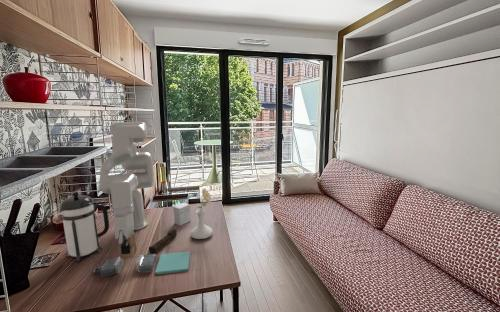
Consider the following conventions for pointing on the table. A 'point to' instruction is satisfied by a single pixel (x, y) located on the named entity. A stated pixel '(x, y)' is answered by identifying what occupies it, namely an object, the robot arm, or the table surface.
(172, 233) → the brown wooden branch
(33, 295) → the table surface
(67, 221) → the coffee press
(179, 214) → the small box
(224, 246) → the table surface
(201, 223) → the flower in vase
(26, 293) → the table surface
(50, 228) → the table surface
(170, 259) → the mat
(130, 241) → the wooden block
